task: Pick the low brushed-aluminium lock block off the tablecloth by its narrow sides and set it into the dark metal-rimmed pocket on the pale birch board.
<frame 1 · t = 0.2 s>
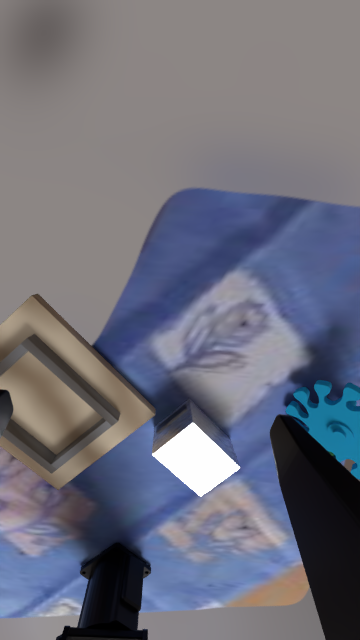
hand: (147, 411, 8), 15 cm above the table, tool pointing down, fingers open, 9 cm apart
dock: (51, 398, 25), on the table
gear: (316, 408, 27), on the table
lock block: (192, 431, 27), on the table
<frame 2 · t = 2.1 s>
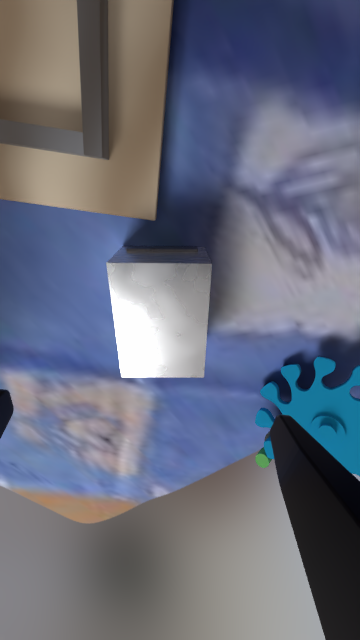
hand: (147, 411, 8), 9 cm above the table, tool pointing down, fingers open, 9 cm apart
gear: (297, 391, 21), on the table
lock block: (164, 298, 17), on the table
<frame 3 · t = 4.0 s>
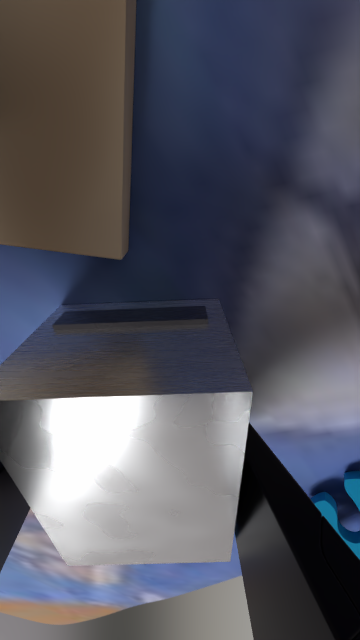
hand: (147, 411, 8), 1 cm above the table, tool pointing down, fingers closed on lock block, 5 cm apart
gear: (357, 498, 14), on the table
lock block: (150, 385, 9), on the table, touching gripper
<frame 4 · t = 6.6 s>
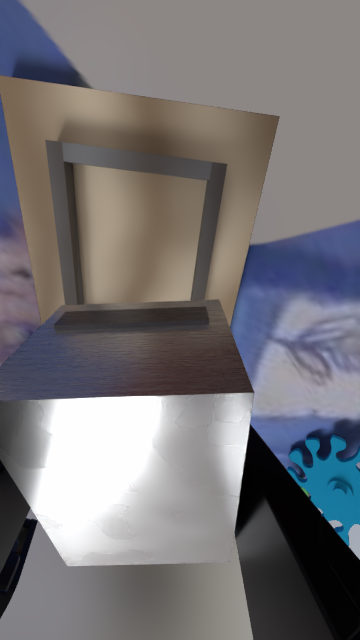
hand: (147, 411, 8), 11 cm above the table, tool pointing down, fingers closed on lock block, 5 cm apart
dock: (140, 253, 17), on the table
gear: (314, 452, 28), on the table
lock block: (150, 385, 9), point 10 cm above the table, touching gripper
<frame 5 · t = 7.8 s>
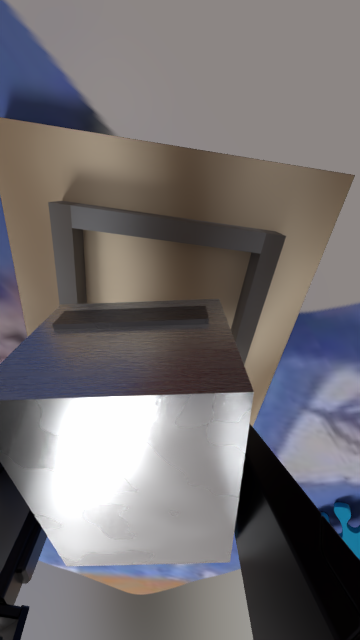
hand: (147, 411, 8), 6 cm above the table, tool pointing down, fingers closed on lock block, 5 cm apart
dock: (160, 319, 14), on the table
gear: (340, 515, 25), on the table
lock block: (150, 385, 9), point 5 cm above the table, touching gripper
when the fingers open (4 cm above the table, at t = 9.1 s): lock block drops 1 cm, resting on dock.
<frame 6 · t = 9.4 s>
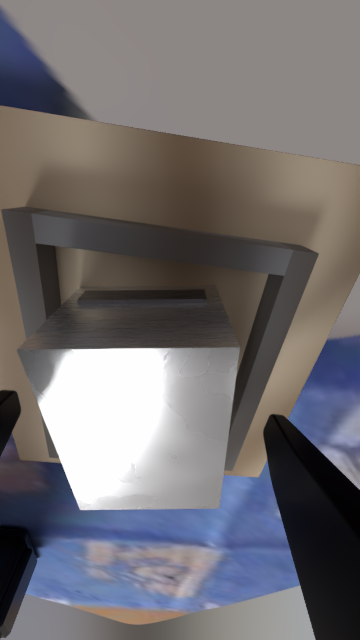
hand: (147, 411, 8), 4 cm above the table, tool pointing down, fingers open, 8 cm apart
dock: (156, 347, 12), on the table
lock block: (153, 361, 11), point 1 cm above the table, touching dock
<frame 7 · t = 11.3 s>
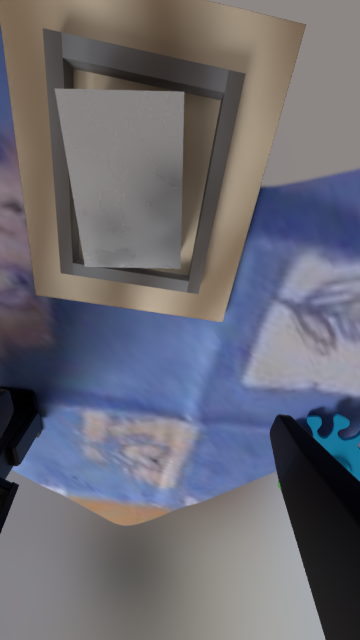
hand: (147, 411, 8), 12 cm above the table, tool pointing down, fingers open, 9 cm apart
dock: (142, 189, 15), on the table
gear: (312, 433, 27), on the table
lock block: (140, 190, 15), point 1 cm above the table, touching dock
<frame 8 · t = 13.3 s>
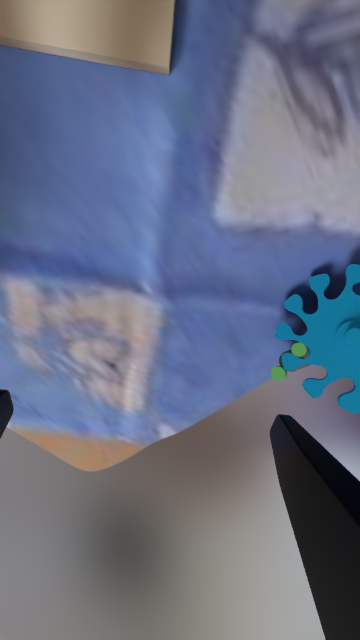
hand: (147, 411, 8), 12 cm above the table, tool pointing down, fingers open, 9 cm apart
gear: (316, 314, 20), on the table
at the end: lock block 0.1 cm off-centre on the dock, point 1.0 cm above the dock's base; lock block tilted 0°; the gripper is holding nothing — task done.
